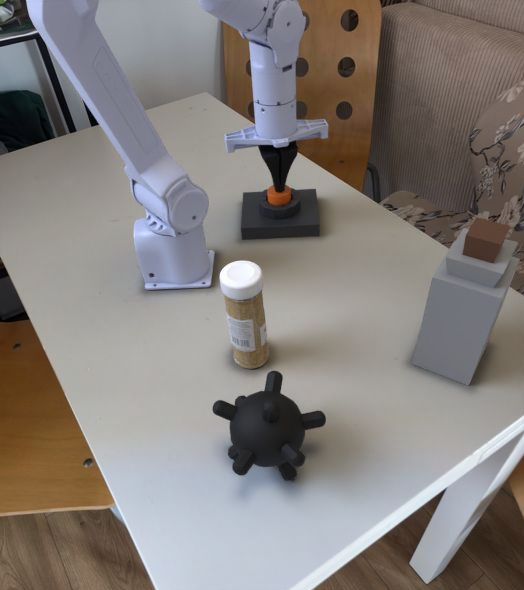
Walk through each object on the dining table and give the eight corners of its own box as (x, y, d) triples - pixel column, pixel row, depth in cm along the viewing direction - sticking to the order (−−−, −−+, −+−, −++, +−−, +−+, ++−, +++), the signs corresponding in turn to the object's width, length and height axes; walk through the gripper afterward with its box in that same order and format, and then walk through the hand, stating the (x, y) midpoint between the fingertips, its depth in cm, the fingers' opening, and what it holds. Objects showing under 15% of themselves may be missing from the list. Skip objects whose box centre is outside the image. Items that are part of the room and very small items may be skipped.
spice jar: (277, 355, 64) (271, 270, 54) (250, 376, 62) (239, 293, 52) (251, 337, 66) (241, 253, 56) (225, 357, 64) (209, 273, 54)
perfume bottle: (468, 385, 59) (516, 261, 46) (412, 363, 62) (441, 240, 48) (486, 347, 63) (534, 221, 49) (431, 328, 65) (464, 203, 52)
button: (267, 207, 80) (267, 197, 78) (267, 194, 82) (267, 184, 81) (291, 205, 79) (290, 195, 78) (290, 193, 82) (290, 183, 80)
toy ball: (295, 368, 59) (364, 422, 50) (253, 446, 60) (313, 513, 51) (221, 344, 52) (286, 402, 43) (177, 433, 54) (230, 507, 45)
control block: (242, 240, 80) (239, 217, 77) (244, 203, 87) (242, 182, 84) (319, 236, 80) (320, 214, 77) (315, 200, 86) (316, 178, 83)
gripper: (224, 117, 66) (235, 209, 76) (335, 101, 67) (331, 194, 77) (218, 95, 71) (229, 185, 81) (321, 80, 71) (320, 171, 82)
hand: (278, 188), depth 79 cm, fingers closed
